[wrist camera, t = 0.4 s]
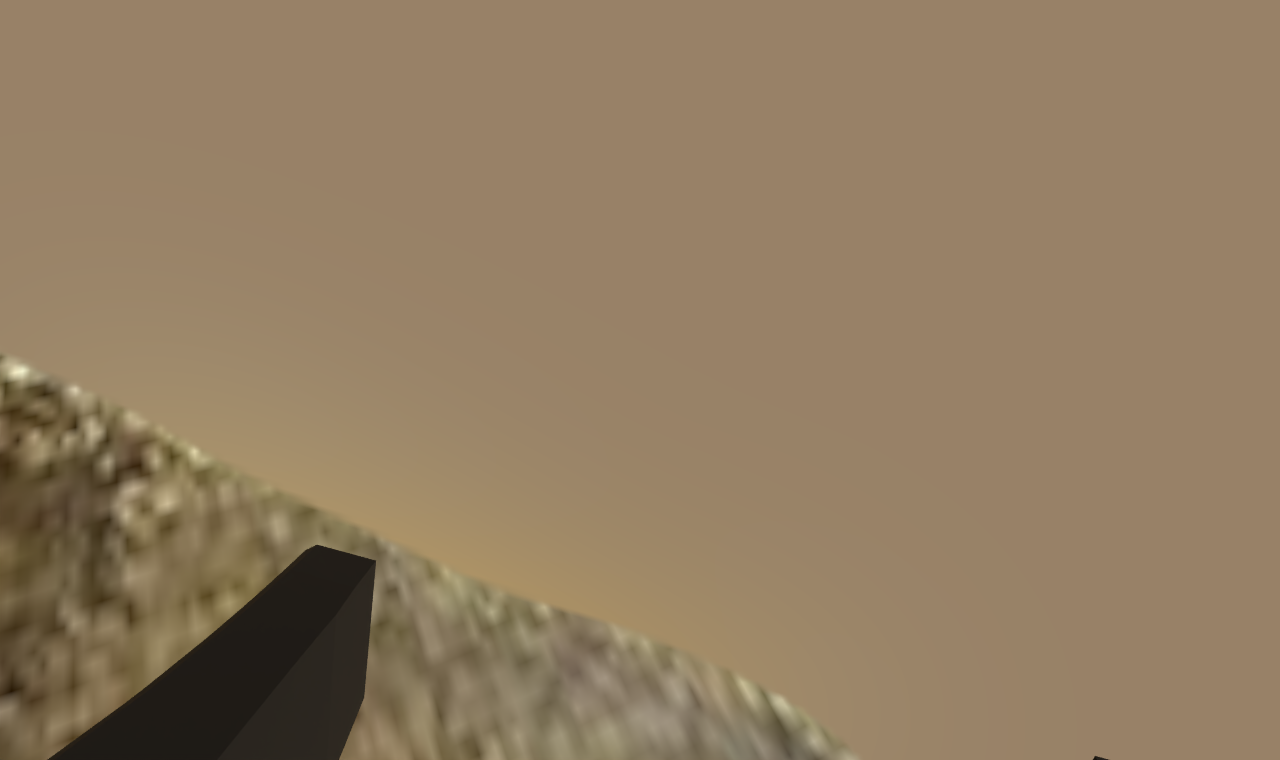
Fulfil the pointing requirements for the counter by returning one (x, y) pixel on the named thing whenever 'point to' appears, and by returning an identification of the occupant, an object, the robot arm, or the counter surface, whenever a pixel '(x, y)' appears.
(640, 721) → the counter surface
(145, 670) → the counter surface
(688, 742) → the counter surface
